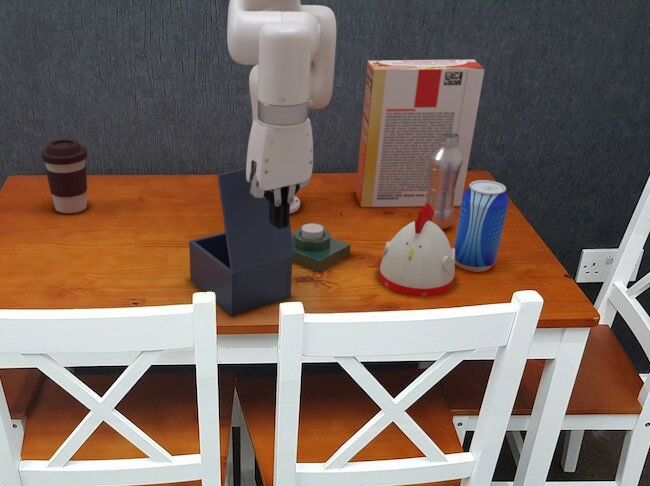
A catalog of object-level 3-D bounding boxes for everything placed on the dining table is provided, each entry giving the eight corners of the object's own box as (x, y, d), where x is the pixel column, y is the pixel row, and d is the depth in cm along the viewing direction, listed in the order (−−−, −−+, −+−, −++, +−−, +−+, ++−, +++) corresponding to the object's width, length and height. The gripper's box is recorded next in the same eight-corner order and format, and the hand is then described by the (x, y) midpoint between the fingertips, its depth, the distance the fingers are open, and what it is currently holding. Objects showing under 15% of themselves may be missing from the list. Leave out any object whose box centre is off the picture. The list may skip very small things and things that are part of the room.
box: (190, 280, 150) (188, 240, 146) (246, 265, 156) (246, 226, 151) (231, 315, 139) (231, 274, 135) (290, 298, 144) (292, 257, 140)
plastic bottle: (452, 234, 167) (468, 141, 155) (420, 231, 168) (433, 139, 157) (451, 222, 172) (466, 131, 161) (420, 219, 173) (433, 129, 162)
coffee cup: (40, 213, 177) (30, 147, 169) (64, 197, 185) (55, 133, 176) (78, 219, 174) (70, 153, 166) (100, 203, 182) (94, 139, 173)
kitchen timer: (367, 284, 148) (375, 210, 140) (394, 256, 158) (404, 185, 150) (438, 303, 142) (451, 226, 134) (462, 273, 152) (476, 200, 144)
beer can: (487, 277, 151) (504, 198, 142) (445, 267, 154) (458, 189, 145) (500, 260, 156) (516, 183, 147) (459, 251, 160) (472, 175, 151)
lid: (217, 174, 129) (219, 174, 128) (281, 160, 134) (283, 160, 133) (230, 271, 135) (232, 272, 134) (291, 254, 140) (293, 255, 139)
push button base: (272, 253, 160) (273, 233, 157) (304, 238, 166) (305, 218, 163) (318, 272, 153) (319, 251, 150) (349, 255, 159) (351, 235, 156)
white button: (296, 236, 157) (297, 228, 156) (310, 229, 159) (311, 221, 158) (313, 242, 154) (314, 234, 153) (327, 235, 157) (328, 227, 156)
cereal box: (452, 192, 186) (474, 59, 169) (460, 205, 179) (484, 68, 162) (355, 193, 186) (367, 60, 169) (360, 206, 179) (374, 69, 162)
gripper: (308, 98, 124) (303, 208, 134) (227, 113, 118) (228, 227, 128) (337, 110, 119) (329, 223, 129) (253, 126, 112) (252, 244, 123)
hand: (278, 225), depth 128 cm, fingers closed
